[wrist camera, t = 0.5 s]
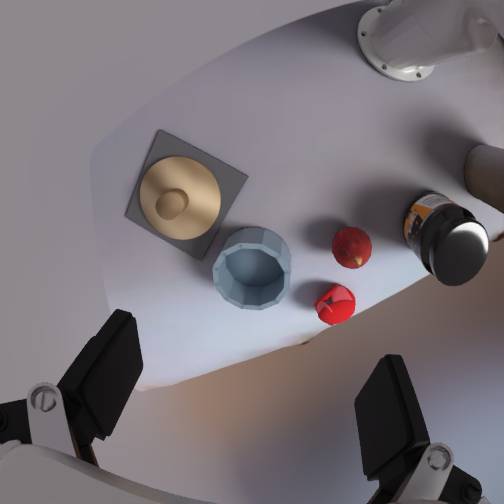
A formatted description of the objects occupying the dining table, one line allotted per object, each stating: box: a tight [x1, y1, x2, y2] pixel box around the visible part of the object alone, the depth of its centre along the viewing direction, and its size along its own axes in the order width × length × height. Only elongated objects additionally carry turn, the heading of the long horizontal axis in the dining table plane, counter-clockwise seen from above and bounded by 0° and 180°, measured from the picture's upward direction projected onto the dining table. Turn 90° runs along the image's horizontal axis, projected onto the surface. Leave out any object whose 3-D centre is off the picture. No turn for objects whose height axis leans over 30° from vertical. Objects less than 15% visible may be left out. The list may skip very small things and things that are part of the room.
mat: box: [126, 130, 248, 261], centre depth 42 cm, size 16×15×1 cm
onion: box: [332, 227, 372, 269], centre depth 38 cm, size 6×6×8 cm
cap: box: [314, 284, 356, 326], centre depth 44 cm, size 8×6×6 cm
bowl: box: [212, 227, 291, 310], centre depth 43 cm, size 11×11×6 cm
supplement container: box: [402, 192, 489, 286], centre depth 33 cm, size 10×10×12 cm
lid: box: [140, 156, 221, 240], centre depth 39 cm, size 13×13×5 cm
